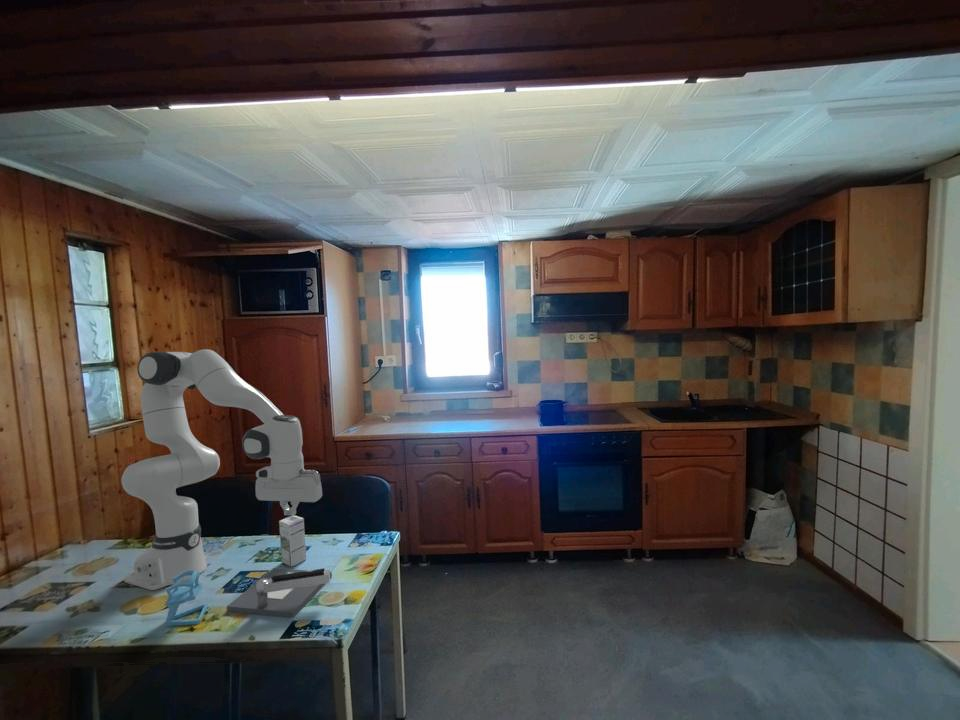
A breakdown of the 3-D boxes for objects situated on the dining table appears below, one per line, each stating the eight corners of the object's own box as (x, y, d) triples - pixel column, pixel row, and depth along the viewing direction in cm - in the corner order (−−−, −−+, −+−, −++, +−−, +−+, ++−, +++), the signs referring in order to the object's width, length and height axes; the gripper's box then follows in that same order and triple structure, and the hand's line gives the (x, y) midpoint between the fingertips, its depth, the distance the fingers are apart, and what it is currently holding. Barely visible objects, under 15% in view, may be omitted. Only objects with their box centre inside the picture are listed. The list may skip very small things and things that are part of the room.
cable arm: (258, 589, 110) (257, 575, 110) (330, 578, 115) (329, 565, 114) (255, 595, 108) (254, 581, 107) (329, 584, 112) (328, 570, 112)
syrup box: (307, 559, 136) (304, 517, 135) (290, 568, 131) (288, 524, 130) (296, 555, 139) (294, 514, 139) (280, 563, 134) (278, 520, 134)
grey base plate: (227, 611, 110) (226, 593, 110) (274, 572, 128) (273, 557, 128) (293, 617, 106) (292, 599, 106) (331, 576, 125) (331, 561, 125)
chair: (172, 614, 110) (169, 571, 109) (208, 606, 113) (205, 564, 112) (161, 632, 102) (157, 586, 102) (200, 623, 105) (196, 578, 105)
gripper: (325, 466, 122) (327, 511, 123) (265, 465, 126) (267, 509, 126) (313, 473, 116) (315, 520, 117) (250, 471, 120) (253, 517, 120)
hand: (290, 514), depth 122 cm, fingers closed
